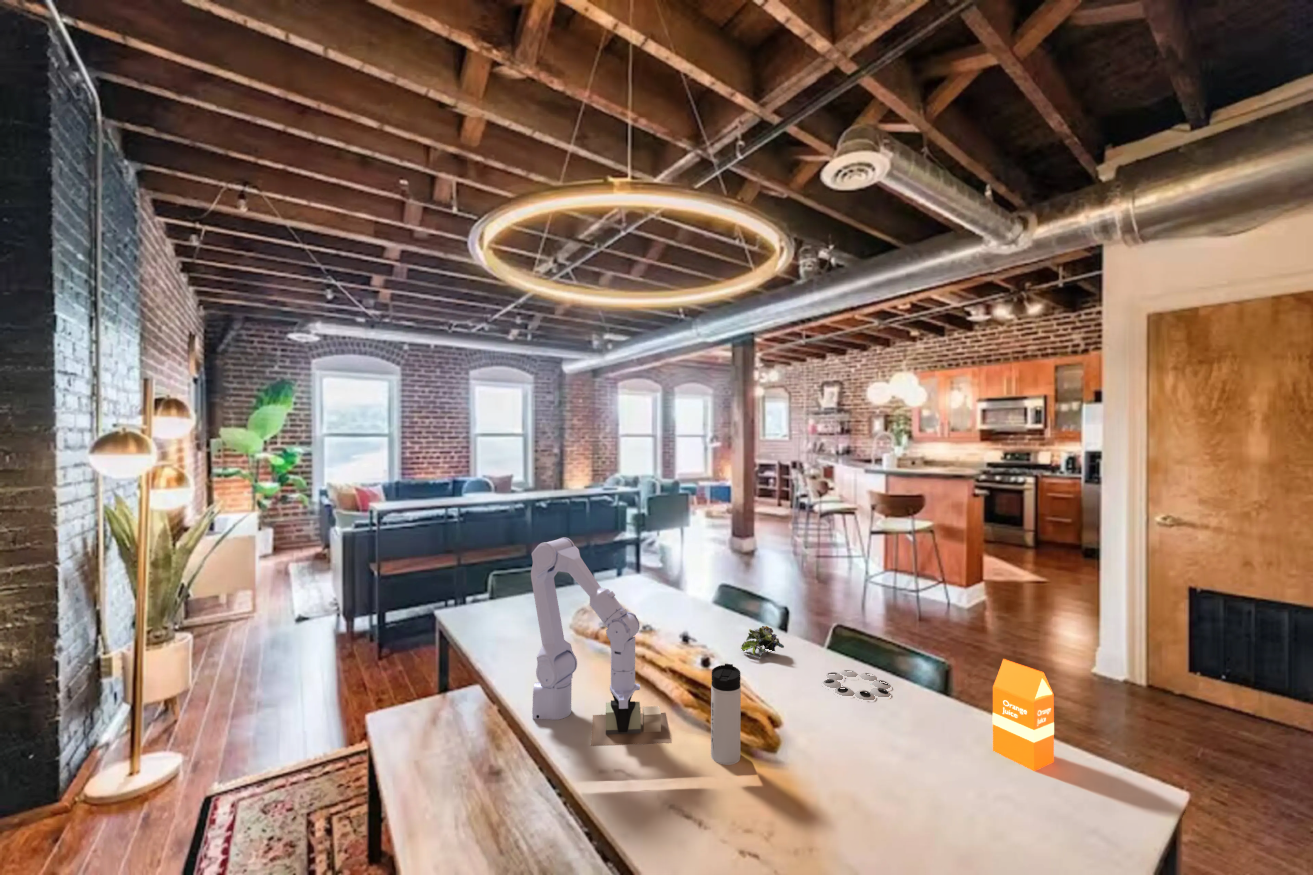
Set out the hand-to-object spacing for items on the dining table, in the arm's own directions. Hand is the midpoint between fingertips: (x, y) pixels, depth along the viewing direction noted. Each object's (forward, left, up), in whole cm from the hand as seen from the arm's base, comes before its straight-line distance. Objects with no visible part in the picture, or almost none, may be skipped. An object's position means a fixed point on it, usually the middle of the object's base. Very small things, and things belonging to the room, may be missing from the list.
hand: (622, 725), depth 130 cm
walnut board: (+2, 0, -2) cm, 3 cm away
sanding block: (0, 0, -1) cm, 1 cm away
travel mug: (+22, -13, -2) cm, 25 cm away
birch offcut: (+7, 0, -1) cm, 7 cm away
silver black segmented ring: (+67, +22, -3) cm, 70 cm away
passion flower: (+46, +46, -2) cm, 65 cm away
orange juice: (+88, -15, -2) cm, 89 cm away
